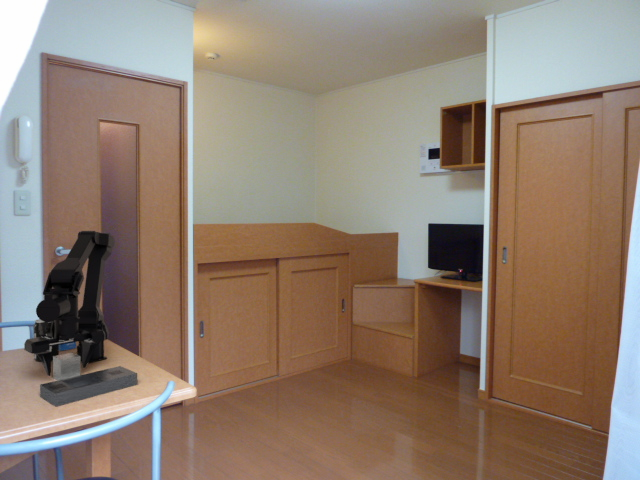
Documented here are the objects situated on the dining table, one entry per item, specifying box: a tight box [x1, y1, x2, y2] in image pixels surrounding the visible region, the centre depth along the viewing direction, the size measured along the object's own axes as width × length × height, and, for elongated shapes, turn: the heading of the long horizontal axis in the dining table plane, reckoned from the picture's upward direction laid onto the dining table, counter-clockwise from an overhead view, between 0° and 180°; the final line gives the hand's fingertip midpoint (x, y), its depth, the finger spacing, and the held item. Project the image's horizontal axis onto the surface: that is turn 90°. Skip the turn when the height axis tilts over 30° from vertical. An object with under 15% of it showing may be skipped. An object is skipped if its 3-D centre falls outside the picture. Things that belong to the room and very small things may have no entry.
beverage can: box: [32, 318, 60, 363], centre depth 147 cm, size 7×7×12 cm
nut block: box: [52, 352, 82, 381], centre depth 130 cm, size 5×5×6 cm
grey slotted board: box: [39, 365, 138, 407], centre depth 121 cm, size 20×9×3 cm, turn 140°
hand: (66, 371), depth 130 cm, fingers open, 9 cm apart
